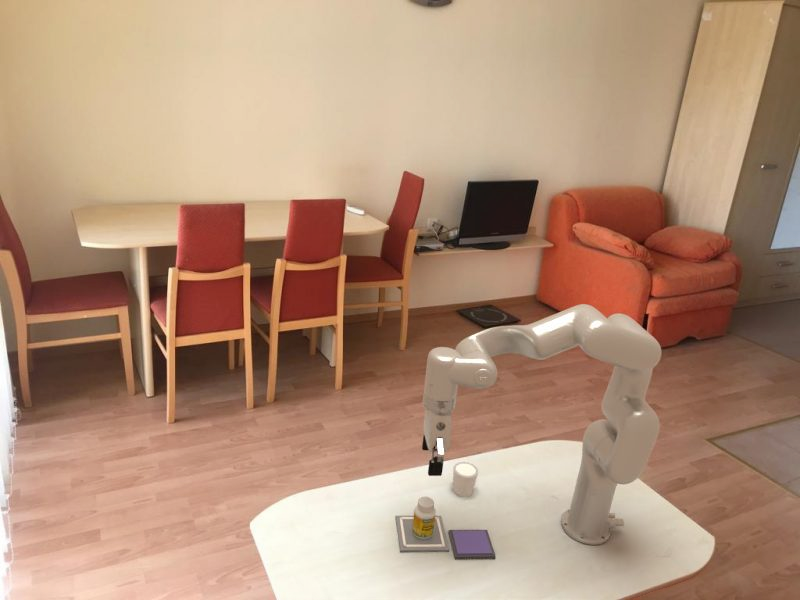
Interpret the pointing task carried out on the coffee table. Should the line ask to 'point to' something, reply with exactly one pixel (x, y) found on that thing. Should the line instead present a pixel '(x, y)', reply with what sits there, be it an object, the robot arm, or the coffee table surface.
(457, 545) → the ink pad
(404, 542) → the grey square tile
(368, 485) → the coffee table surface
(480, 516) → the coffee table surface
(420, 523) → the supplement bottle
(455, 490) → the white short cylinder
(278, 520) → the coffee table surface
